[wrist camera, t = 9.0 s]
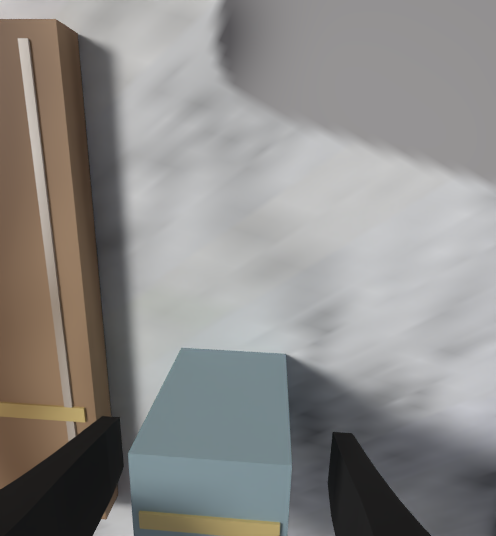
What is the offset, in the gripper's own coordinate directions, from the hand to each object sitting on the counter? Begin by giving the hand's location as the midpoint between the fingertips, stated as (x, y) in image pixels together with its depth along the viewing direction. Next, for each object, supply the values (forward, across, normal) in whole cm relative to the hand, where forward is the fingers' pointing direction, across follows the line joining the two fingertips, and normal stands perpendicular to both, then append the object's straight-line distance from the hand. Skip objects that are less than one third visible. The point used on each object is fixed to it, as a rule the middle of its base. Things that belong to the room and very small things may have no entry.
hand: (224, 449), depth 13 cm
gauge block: (+2, 0, 0) cm, 3 cm away
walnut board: (+2, +8, -4) cm, 9 cm away
